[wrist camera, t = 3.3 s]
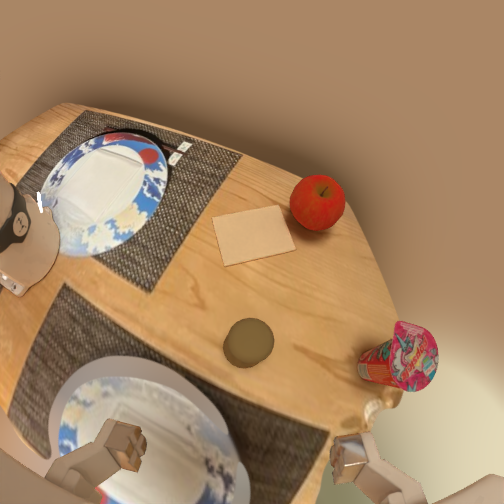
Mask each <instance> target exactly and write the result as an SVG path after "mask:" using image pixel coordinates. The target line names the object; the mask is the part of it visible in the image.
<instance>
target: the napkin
mask: <svg viewBox="0 0 504 504" xmlns="http://www.w3.org/2000/svg"><path fill="white" fill-rule="evenodd" d="M212 222H213V226H214V229H215V233H216V237H217V241H218V245H219V249H220V252H221V256H222V260H223V264H224V267H227V266H231V265H235V264H240V263H244V262H248V261H253V260H257V259H261V258H266V257H270V256H274V255H278V254H283V253H287V252H291V251H295V250H296V248H295V245H294V243H293V240H292V237H291V235H290V232H289V230H288V227H287V225H286V222H285V220H284V217H283V215H282V212H281V210H280V207H279V205H275V206H269V207H264V208H258V209H253V210H248V211H242V212H237V213H232V214H227V215H222V216H217V217H212Z"/></svg>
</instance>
